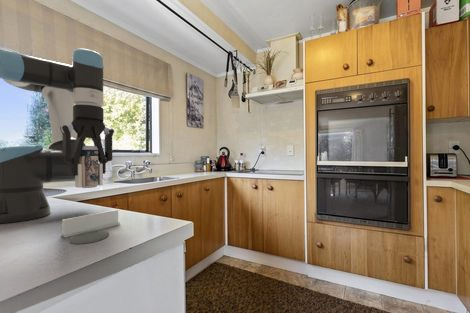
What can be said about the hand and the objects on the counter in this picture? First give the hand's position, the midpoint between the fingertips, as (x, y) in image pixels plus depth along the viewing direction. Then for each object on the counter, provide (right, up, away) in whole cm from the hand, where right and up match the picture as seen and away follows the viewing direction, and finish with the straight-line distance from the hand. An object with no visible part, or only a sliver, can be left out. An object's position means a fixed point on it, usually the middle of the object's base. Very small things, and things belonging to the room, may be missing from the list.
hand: (89, 185), depth 68 cm
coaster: (+8, -11, -13) cm, 18 cm away
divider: (+5, -11, -6) cm, 13 cm away
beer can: (0, -1, 0) cm, 1 cm away
